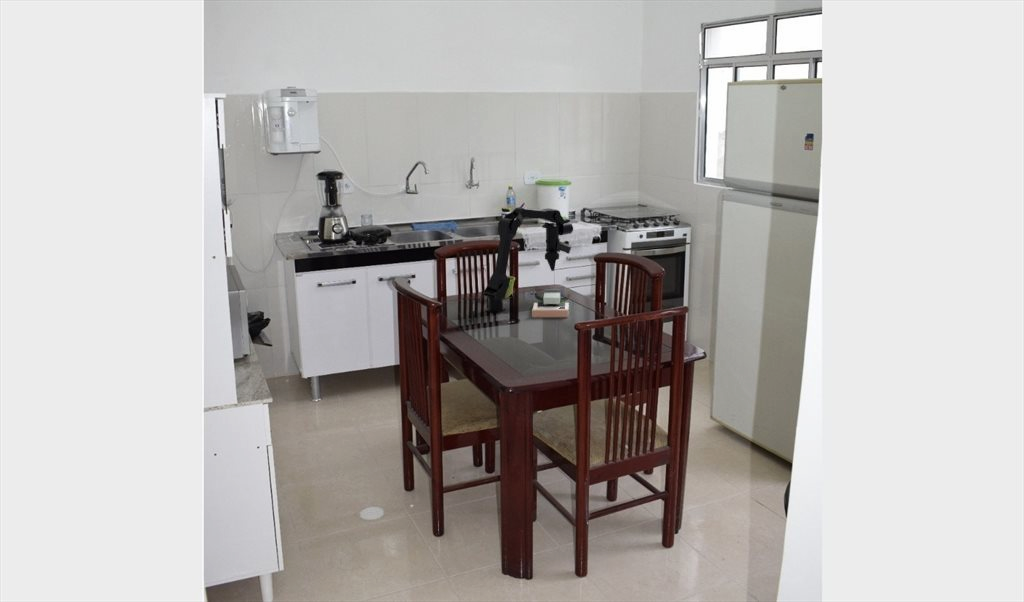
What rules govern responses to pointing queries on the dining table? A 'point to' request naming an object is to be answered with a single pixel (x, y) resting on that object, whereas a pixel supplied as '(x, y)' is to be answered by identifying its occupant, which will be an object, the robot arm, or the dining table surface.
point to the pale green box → (551, 296)
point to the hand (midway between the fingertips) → (552, 270)
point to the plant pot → (510, 286)
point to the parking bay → (549, 311)
